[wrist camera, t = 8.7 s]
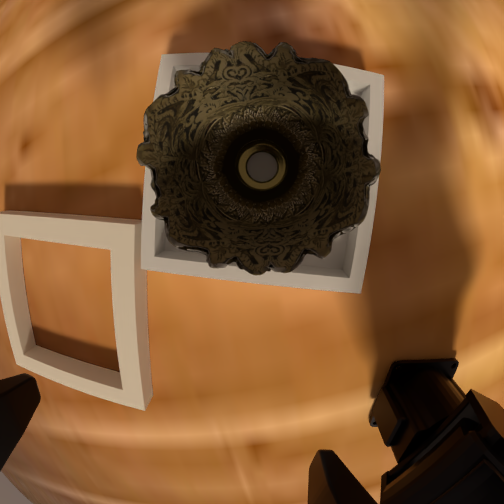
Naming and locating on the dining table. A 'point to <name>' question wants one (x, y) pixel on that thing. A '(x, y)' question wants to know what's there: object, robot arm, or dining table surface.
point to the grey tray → (263, 169)
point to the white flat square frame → (123, 296)
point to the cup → (249, 143)
